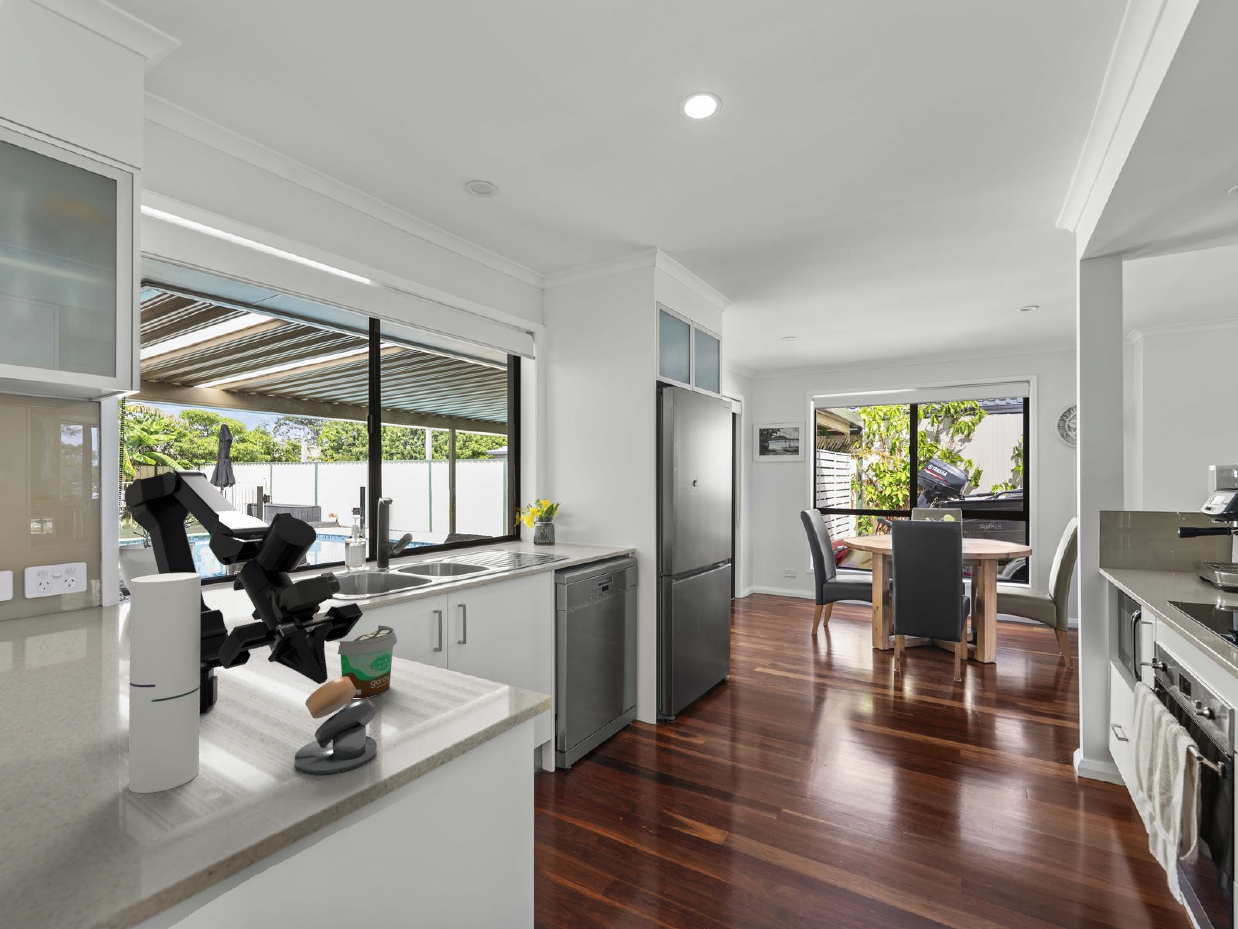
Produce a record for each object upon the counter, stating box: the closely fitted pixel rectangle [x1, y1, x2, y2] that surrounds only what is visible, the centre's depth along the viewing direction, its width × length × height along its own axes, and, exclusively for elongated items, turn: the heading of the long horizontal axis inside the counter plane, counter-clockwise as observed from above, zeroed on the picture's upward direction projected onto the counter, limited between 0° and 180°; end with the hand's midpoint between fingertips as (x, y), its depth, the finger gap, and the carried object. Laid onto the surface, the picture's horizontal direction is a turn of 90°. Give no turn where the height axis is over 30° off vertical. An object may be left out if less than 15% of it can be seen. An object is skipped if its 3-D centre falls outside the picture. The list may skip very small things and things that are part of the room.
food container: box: [337, 624, 398, 699], centre depth 111 cm, size 12×6×10 cm, turn 168°
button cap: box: [305, 676, 357, 720], centre depth 86 cm, size 6×6×6 cm
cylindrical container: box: [127, 572, 202, 794], centre depth 79 cm, size 7×7×25 cm
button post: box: [294, 699, 378, 776], centre depth 85 cm, size 10×10×8 cm
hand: (323, 681), depth 86 cm, fingers closed
